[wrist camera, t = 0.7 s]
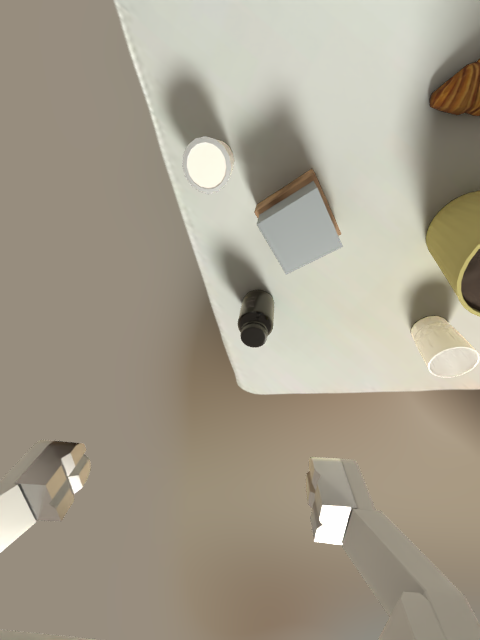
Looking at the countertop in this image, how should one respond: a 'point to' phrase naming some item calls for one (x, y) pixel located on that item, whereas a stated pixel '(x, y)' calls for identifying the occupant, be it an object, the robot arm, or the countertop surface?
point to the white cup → (443, 347)
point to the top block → (299, 229)
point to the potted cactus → (459, 247)
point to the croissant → (460, 92)
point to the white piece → (208, 164)
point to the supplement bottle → (256, 318)
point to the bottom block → (291, 189)
